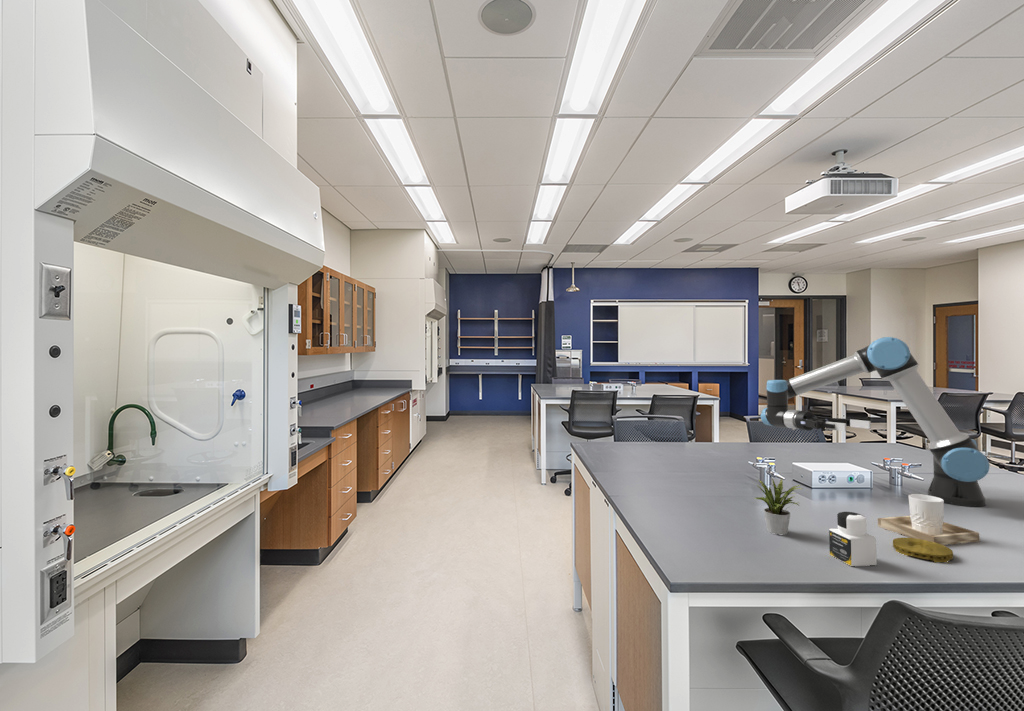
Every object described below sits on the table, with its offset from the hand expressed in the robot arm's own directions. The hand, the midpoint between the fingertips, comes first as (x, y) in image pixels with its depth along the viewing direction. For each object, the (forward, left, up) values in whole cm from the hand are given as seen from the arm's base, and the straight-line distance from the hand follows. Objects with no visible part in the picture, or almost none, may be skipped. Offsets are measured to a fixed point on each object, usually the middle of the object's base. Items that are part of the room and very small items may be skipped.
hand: (858, 426), depth 162 cm
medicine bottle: (+42, +36, -29) cm, 62 cm away
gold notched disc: (+20, +36, -29) cm, 50 cm away
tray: (+4, +25, -29) cm, 38 cm away
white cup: (+4, +25, -28) cm, 38 cm away
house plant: (+46, +16, -29) cm, 56 cm away
